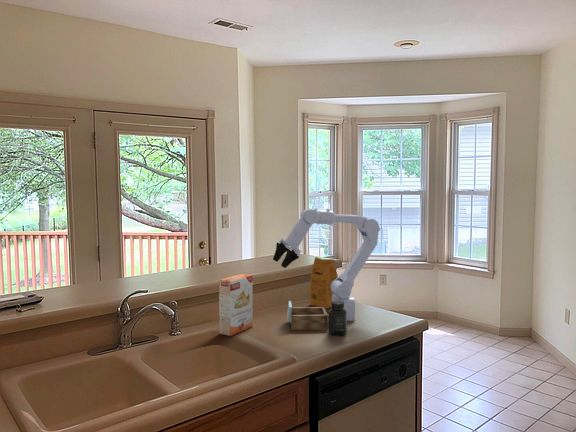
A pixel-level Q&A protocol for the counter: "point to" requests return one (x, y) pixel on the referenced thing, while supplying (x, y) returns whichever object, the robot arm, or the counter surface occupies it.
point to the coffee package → (322, 282)
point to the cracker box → (235, 304)
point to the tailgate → (289, 311)
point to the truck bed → (309, 318)
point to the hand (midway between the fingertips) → (278, 263)
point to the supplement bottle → (337, 319)
